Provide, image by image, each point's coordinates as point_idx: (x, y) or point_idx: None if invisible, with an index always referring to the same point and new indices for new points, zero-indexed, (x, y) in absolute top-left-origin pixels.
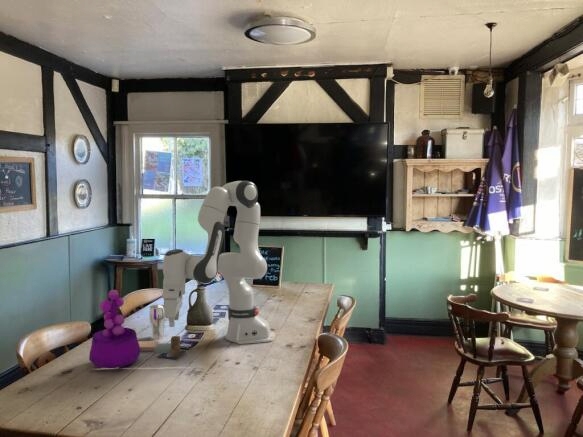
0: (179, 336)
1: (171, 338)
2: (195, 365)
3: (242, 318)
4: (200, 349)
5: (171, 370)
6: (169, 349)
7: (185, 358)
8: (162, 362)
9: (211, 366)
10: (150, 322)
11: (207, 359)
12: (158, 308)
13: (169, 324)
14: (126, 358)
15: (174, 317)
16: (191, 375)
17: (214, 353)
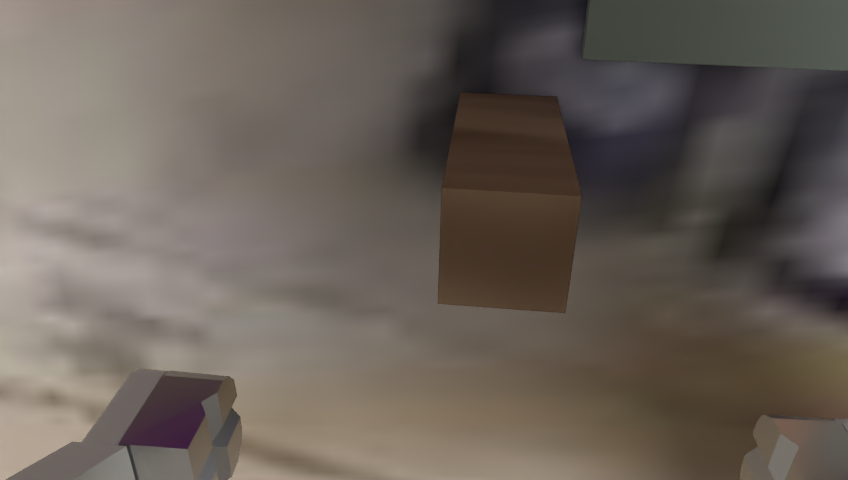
0: (552, 305)
1: (463, 196)
2: (255, 337)
3: None
4: (674, 366)
5: (115, 142)
6: (723, 40)
7: (432, 244)
8: (322, 7)
9: (242, 445)
10: None
11: (394, 421)
12: None
13: (110, 403)
14: None
15: (791, 476)
16: (44, 317)
17: (535, 469)
